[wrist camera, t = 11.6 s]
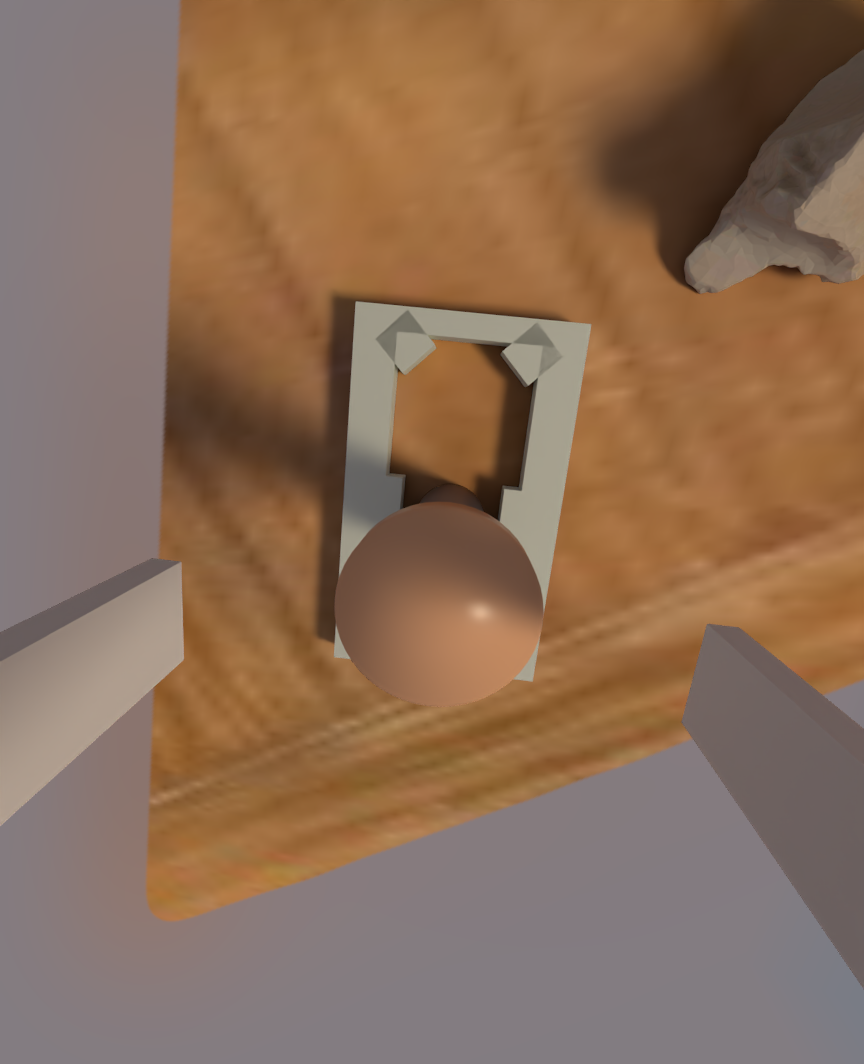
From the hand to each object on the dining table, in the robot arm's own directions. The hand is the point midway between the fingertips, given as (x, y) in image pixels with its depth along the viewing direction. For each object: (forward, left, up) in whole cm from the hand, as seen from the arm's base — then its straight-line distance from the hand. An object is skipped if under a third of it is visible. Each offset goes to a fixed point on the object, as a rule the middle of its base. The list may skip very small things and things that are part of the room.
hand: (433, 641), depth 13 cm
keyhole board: (-1, 0, -17) cm, 17 cm away
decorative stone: (-18, +17, -18) cm, 31 cm away
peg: (0, 0, -17) cm, 17 cm away
